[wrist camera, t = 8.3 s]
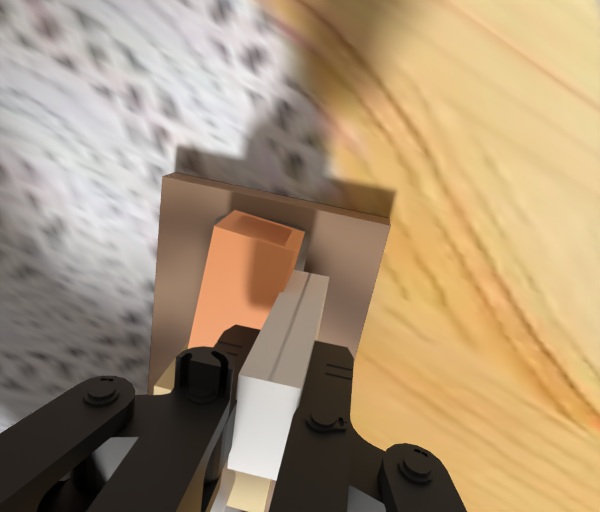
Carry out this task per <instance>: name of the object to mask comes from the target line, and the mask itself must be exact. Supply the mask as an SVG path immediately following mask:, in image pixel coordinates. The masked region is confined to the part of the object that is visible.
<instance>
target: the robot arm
mask: <svg viewBox="0 0 600 512" xmlns="http://www.w3.org/2000/svg"><path fill="white" fill-rule="evenodd" d="M328 282H329V277H327V276H322V275H317V274H312V273H307V272H302V271H297V270H293V272H292V274H291V276H290V278H289V281H288V283H287V285H286V287H285V289H284V292H280V293H279V295H278V297H277V299H276V301H275V303H274V305H273V307H272V309H271V311H270V313H269V315H268V317H267V319H266V321H265V323H264V325H263V327H262V329H261V330H260V329H255V328H250V327H246V326H241V325H237V324H236V325H234V326H232V327H230V328H229V329H227V330H225V331H224V332H223V333H222V335H221V336H220V338H219V339H218V341H217V343H216V344H215V345H214V347H206V346H201V347H192V348H190V349H187V350H184V351H182V352H181V353H180V354H178V355H177V356H176V363H175V380H174V388H173V390H172V391H171V392H170V393H168V394H162V395H135V389H134V387H133V385H132V383H130V382H129V381H127V380H126V379H124V378H121V377H117V376H100V377H95V378H90V379H88V380H86V381H84V382H82V383H80V384H78V385H76V386H75V387H73V388H72V389H70V390H68V391H67V392H65V393H64V394H62V395H60V396H59V397H57V398H56V399H54V400H53V401H51V402H49V403H48V404H46V405H45V406H43V407H41V408H40V409H38V410H37V411H35V412H34V413H32V414H30V415H29V416H27V417H26V418H24V419H22V420H21V421H19V422H18V423H16V424H15V425H13V426H11V427H10V428H8V429H7V430H5V431H3V432H2V433H0V512H210V511H211V508H212V506H213V503H214V501H215V499H216V496H217V494H218V491H219V489H220V484H221V477H222V470H223V468H224V465H225V463H226V461H227V458H228V456H229V458H228V466H227V468H228V469H232V470H236V471H239V472H243V473H247V474H251V475H255V476H260V477H264V478H268V479H272V480H276V484H275V488H274V492H273V496H272V500H271V504H270V508H269V512H467V511H466V508H465V506H464V504H463V502H462V500H461V498H460V496H459V494H458V492H457V490H456V488H455V486H454V484H453V482H452V480H451V478H450V475H449V473H448V471H447V470H446V468H445V467H444V465H443V464H442V462H441V461H440V460H439V459H438V458H437V457H436V456H434V455H433V454H432V453H431V452H429V451H427V450H425V449H423V448H421V447H419V446H417V445H412V444H407V443H403V444H395V445H393V446H391V447H390V448H388V449H387V450H386V452H385V451H383V450H381V449H379V448H377V447H375V446H373V445H372V444H370V443H368V442H367V441H365V440H364V439H363V438H362V437H361V436H360V435H358V433H357V432H356V431H355V429H354V428H353V426H352V424H351V421H350V407H351V393H352V379H353V365H354V358H353V356H352V354H351V352H350V351H349V349H348V347H344V346H339V345H335V344H330V343H325V342H321V341H317V340H318V335H319V329H320V324H321V319H322V314H323V308H324V303H325V298H326V293H327V287H328Z"/></svg>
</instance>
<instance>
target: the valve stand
mask: <svg viewBox="0 0 600 512" xmlns="http://www.w3.org/2000/svg"><path fill="white" fill-rule="evenodd" d="M234 210H237V211H240V212H244V213H247V214H250V215H253V216H256V217H259V218H263V219H266V220H269V221H272V222H275V223H278V224H281V225H285V226H288V227H291V228H294V229H297V230H300V231H304V232H305V234H304V237H303V240H302V244H301V247H300V250H299V254H298V257H297V261H296V264H295V267H294V270H297V271H302V272H307V273H312V274H317V275H322V276H327V277H329V282H328V287H327V293H326V298H325V303H324V308H323V314H322V319H321V324H320V329H319V335H318V340H317V341H321V342H325V343H330V344H335V345H339V346H344V347H348V349H349V351H350V352H351V354H352V356H353V358H354V360H355V356H356V353H357V349H358V345H359V341H360V338H361V334H362V330H363V327H364V323H365V319H366V315H367V312H368V308H369V304H370V300H371V297H372V293H373V289H374V286H375V282H376V278H377V274H378V271H379V267H380V263H381V259H382V256H383V252H384V248H385V244H386V241H387V237H388V233H389V230H390V226H391V225H390V220H389V218H385V217H381V216H376V215H371V214H367V213H362V212H357V211H353V210H348V209H343V208H339V207H334V206H329V205H325V204H320V203H315V202H311V201H306V200H301V199H297V198H292V197H287V196H283V195H278V194H273V193H269V192H264V191H259V190H255V189H250V188H246V187H241V186H236V185H232V184H227V183H222V182H218V181H213V180H208V179H204V178H199V177H194V176H190V175H185V174H180V173H176V172H174V173H171V174H168V175H165V176H162V190H161V205H160V220H159V234H158V249H157V263H156V278H155V292H154V307H153V322H152V336H151V351H150V365H149V380H148V394H147V395H162V394H168V393H170V392H171V391H172V390H173V388H174V380H175V363H176V356H177V355H178V354H180V353H181V352H182V351H184V350H187V349H188V345H189V340H190V335H191V331H192V326H193V321H194V317H195V312H196V308H197V303H198V298H199V294H200V289H201V284H202V280H203V275H204V270H205V266H206V261H207V257H208V252H209V247H210V243H211V238H212V233H213V229H214V226H215V225H216V224H217V223H219V222H220V221H221V220H222V219H224V218H225V217H226V216H228V215H229V214H230V213H231V212H233V211H234ZM228 458H229V456H228ZM235 473H236V478H235V482H234V485H233V488H232V491H231V494H230V497H229V499H228V502H227V505H226V508H225V511H224V512H269V508H270V504H271V500H272V496H273V492H274V488H275V484H276V480H272V479H268V478H264V477H260V476H255V475H251V474H247V473H243V472H239V471H236V470H235Z"/></svg>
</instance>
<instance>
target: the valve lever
mask: <svg viewBox="0 0 600 512" xmlns="http://www.w3.org/2000/svg"><path fill="white" fill-rule="evenodd" d="M304 234H305V232H304V231H300V230H297V229H294V228H291V227H288V226H285V225H281V224H278V223H275V222H272V221H269V220H266V219H263V218H259V217H256V216H253V215H250V214H247V213H244V212H240V211H237V210H234V211H233V212H231V213H230V214H229V215H228V216H226V217H225V218H224V219H222V220H221V221H220V222H219V223H217V224H216V225H215V226H214V229H213V233H212V238H211V243H210V247H209V252H208V257H207V261H206V266H205V270H204V275H203V280H202V284H201V289H200V294H199V298H198V303H197V308H196V312H195V317H194V321H193V326H192V331H191V335H190V340H189V345H188V349H190V348H192V347H201V346H206V347H214V345H215V344H216V343H217V341H218V339H219V338H220V336H221V335H222V333H223V332H224V331H225V330H227V329H229V328H230V327H232V326H234V325H236V324H237V325H241V326H246V327H250V328H255V329H260V330H261V329H262V327H263V325H264V323H265V321H266V319H267V317H268V315H269V313H270V311H271V309H272V307H273V305H274V303H275V301H276V299H277V297H278V295H279V293H280V292H284V289H285V287H286V285H287V283H288V281H289V278H290V276H291V274H292V272H293V270H294V267H295V264H296V261H297V257H298V254H299V250H300V247H301V244H302V240H303V237H304ZM227 466H228V458H227V461H226V463H225V465H224V468H223V470H222V477H221V484H220V489H219V491H218V494H217V496H216V499H215V501H214V503H213V506H212V508H211V511H210V512H224V511H225V508H226V505H227V502H228V499H229V497H230V494H231V491H232V488H233V485H234V482H235V478H236V473H235V470H232V469H228V468H227Z"/></svg>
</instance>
